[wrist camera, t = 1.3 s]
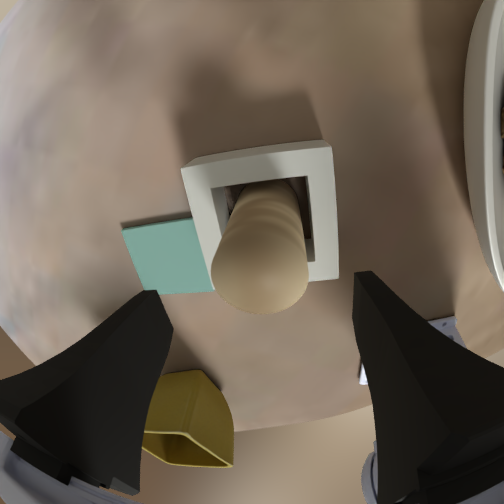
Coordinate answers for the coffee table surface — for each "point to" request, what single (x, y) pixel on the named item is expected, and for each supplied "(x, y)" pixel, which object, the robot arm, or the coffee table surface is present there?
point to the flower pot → (189, 422)
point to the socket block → (259, 169)
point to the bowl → (486, 132)
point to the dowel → (262, 250)
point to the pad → (168, 257)
